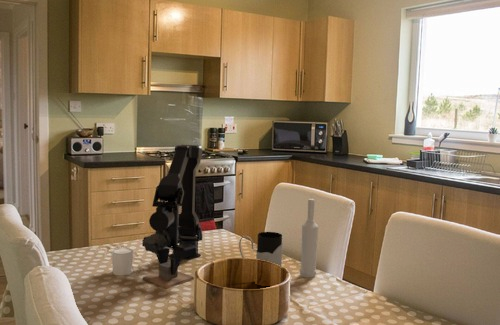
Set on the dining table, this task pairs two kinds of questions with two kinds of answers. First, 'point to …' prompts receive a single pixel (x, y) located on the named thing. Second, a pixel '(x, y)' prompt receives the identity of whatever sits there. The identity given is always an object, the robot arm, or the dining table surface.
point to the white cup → (122, 261)
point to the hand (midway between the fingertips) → (168, 273)
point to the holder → (267, 247)
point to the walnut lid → (167, 277)
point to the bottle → (309, 243)
